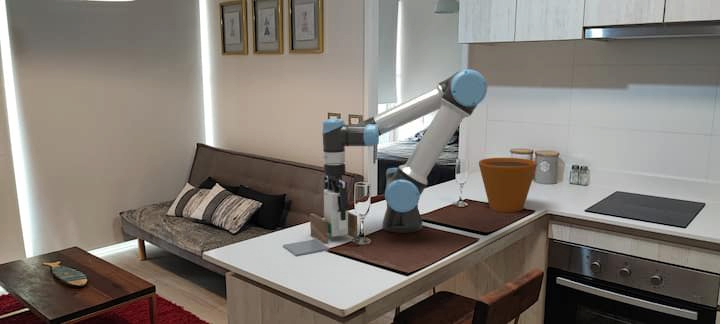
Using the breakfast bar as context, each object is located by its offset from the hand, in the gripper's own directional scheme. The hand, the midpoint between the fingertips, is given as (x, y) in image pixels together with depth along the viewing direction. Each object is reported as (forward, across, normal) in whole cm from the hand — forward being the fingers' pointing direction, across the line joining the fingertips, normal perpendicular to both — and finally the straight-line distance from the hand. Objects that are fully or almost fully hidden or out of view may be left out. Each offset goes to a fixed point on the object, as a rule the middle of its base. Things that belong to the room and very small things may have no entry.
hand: (336, 225), depth 192 cm
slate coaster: (+4, +5, -14) cm, 16 cm away
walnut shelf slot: (+4, -2, 0) cm, 5 cm away
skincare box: (+3, 0, 0) cm, 3 cm away
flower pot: (+5, +1, +81) cm, 81 cm away
